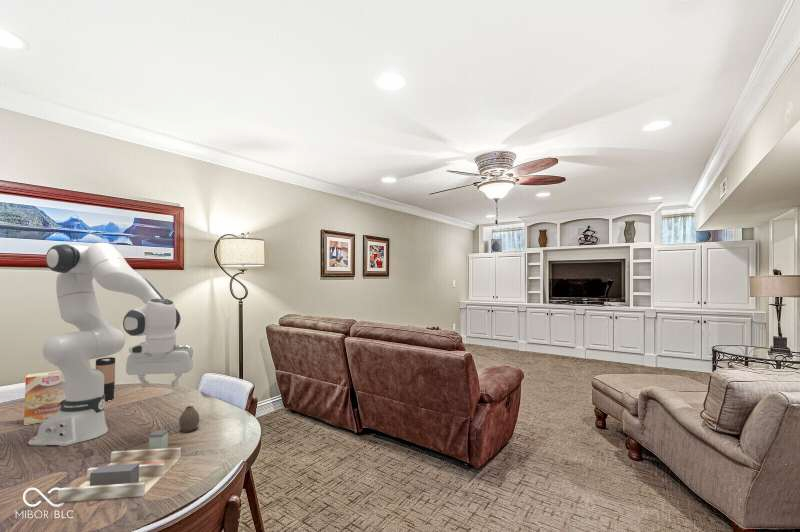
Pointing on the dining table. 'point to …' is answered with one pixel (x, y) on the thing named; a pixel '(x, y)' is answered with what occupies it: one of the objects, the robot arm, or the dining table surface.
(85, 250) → the robot arm
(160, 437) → the grey rectangular block
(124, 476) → the charcoal block
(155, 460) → the rack
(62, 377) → the coffeecake box
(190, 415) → the vase
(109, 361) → the travel mug
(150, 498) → the dining table surface
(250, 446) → the dining table surface
